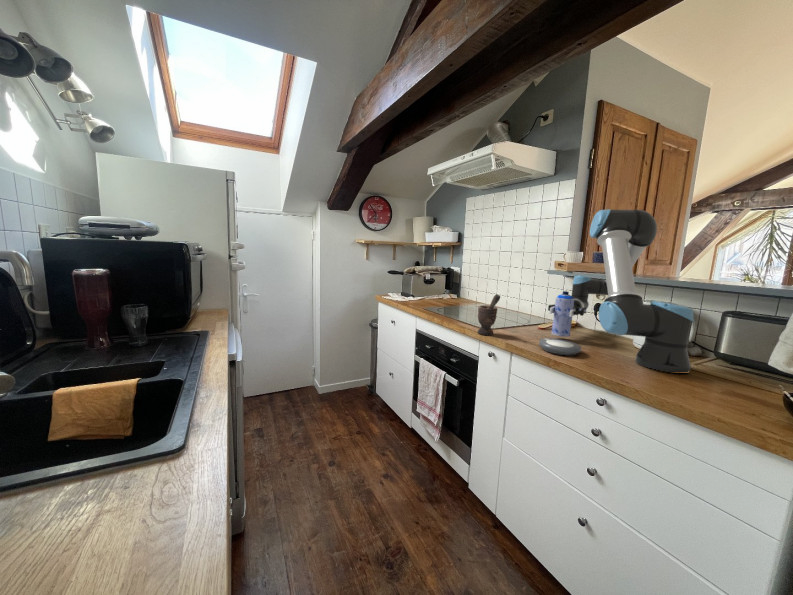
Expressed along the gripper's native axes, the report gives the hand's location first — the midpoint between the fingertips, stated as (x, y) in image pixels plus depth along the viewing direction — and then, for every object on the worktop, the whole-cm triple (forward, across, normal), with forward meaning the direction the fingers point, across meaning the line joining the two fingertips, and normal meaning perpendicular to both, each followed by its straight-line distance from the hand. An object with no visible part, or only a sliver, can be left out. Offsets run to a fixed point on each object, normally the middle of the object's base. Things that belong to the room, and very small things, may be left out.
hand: (560, 312), depth 136 cm
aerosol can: (-5, 0, -11) cm, 12 cm away
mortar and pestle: (+14, +26, -14) cm, 33 cm away
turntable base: (+14, -5, -14) cm, 20 cm away
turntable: (+14, -5, -12) cm, 19 cm away
